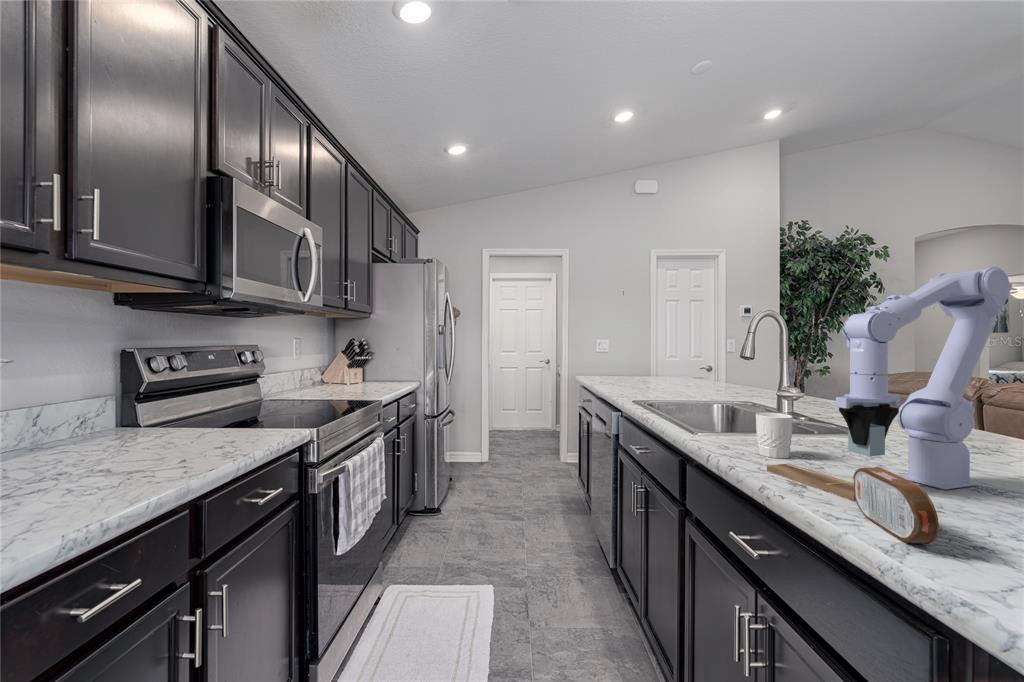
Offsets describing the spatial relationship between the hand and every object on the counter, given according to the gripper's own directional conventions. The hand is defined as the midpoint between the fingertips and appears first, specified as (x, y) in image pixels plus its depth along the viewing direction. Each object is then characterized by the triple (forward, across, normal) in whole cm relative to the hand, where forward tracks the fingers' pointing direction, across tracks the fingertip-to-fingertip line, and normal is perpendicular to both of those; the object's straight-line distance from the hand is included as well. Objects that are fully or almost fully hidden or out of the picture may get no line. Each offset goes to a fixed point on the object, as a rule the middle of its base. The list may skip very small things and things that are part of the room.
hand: (868, 443), depth 83 cm
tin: (+9, +18, +15) cm, 25 cm away
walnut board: (+8, +8, -4) cm, 12 cm away
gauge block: (+2, 0, 0) cm, 2 cm away
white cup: (+8, -2, -23) cm, 25 cm away
